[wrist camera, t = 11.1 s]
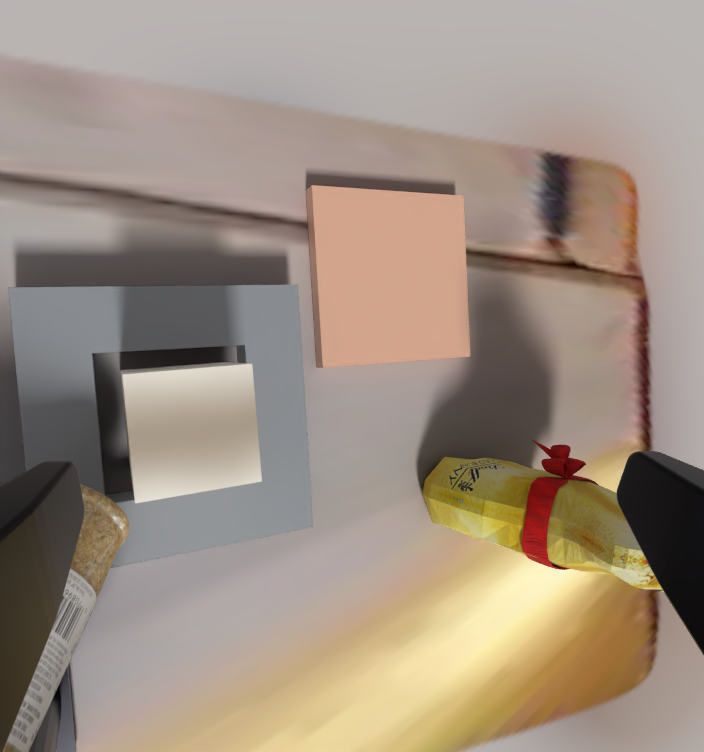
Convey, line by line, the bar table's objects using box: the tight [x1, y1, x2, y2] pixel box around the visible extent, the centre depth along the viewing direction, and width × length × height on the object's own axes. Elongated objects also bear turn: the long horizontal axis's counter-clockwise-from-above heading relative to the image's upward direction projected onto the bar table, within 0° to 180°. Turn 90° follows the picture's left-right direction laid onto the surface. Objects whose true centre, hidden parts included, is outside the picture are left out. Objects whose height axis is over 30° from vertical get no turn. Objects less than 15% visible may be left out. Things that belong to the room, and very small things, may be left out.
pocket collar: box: [8, 285, 313, 568], centre depth 27 cm, size 13×13×2 cm
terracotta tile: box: [306, 185, 470, 368], centre depth 32 cm, size 10×10×1 cm
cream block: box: [120, 362, 262, 503], centre depth 25 cm, size 5×5×7 cm
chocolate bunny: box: [423, 441, 664, 592], centre depth 29 cm, size 7×11×15 cm, turn 78°
